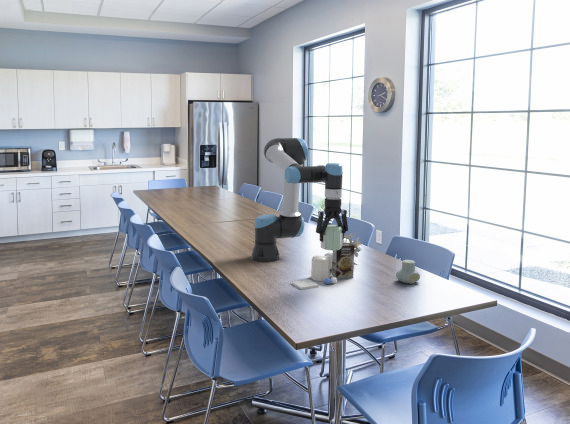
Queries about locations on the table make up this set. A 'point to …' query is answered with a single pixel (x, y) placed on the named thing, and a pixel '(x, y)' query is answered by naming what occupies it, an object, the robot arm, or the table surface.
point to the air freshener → (408, 272)
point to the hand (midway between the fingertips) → (331, 247)
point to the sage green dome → (333, 237)
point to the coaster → (305, 284)
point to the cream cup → (320, 268)
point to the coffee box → (343, 261)
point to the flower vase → (351, 243)
